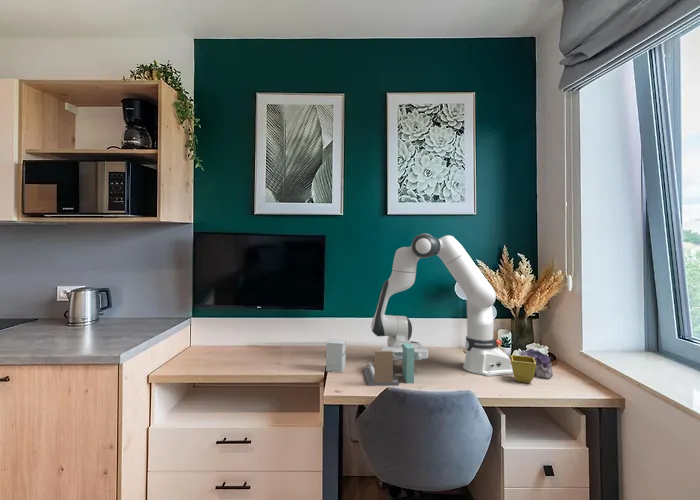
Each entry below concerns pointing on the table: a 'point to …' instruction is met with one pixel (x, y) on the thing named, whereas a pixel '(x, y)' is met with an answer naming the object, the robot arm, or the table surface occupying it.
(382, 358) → the track base
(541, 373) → the geode
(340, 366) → the supplement box
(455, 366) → the table surface
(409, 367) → the teal rectangular block
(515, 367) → the flower pot
